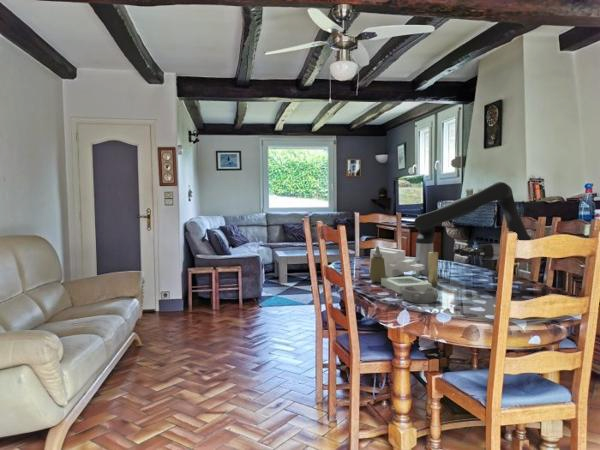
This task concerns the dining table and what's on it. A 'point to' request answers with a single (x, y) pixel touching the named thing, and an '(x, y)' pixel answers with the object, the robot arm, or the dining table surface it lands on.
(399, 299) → the dining table surface
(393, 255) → the blocky voxel creature
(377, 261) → the squeeze bottle
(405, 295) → the dish
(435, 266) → the tan rectangular block
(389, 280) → the tray
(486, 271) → the dining table surface
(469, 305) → the dining table surface
